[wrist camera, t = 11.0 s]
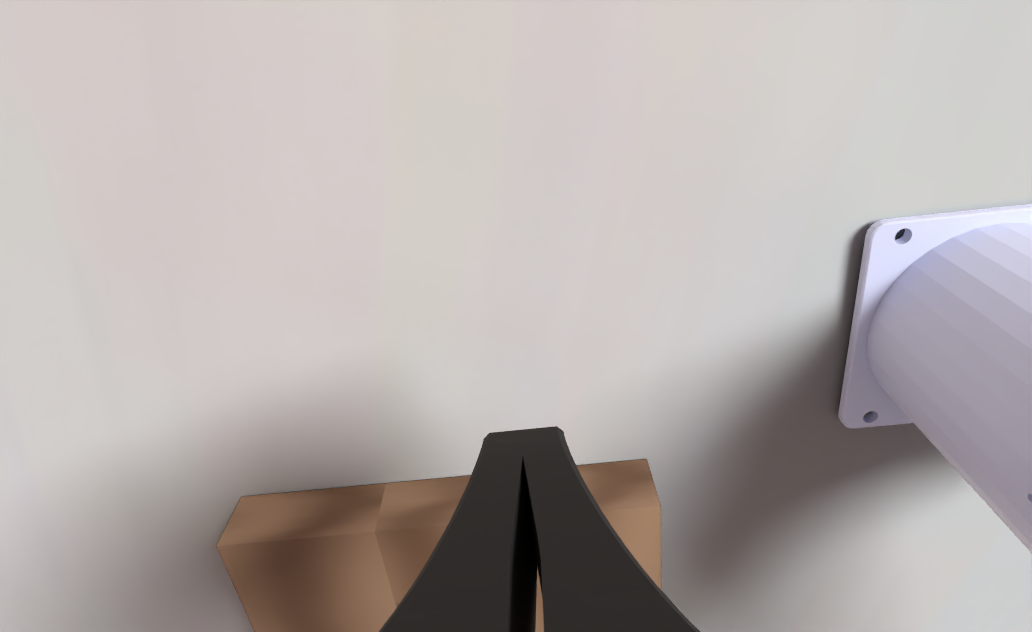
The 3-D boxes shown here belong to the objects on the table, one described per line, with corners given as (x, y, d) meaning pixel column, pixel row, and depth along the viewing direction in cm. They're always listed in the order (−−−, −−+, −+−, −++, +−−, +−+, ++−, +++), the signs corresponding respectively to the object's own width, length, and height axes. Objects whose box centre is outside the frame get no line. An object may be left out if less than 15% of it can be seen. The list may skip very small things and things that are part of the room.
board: (646, 459, 25) (660, 505, 23) (650, 656, 31) (661, 709, 28) (241, 496, 26) (216, 546, 23) (316, 684, 31) (302, 737, 29)
